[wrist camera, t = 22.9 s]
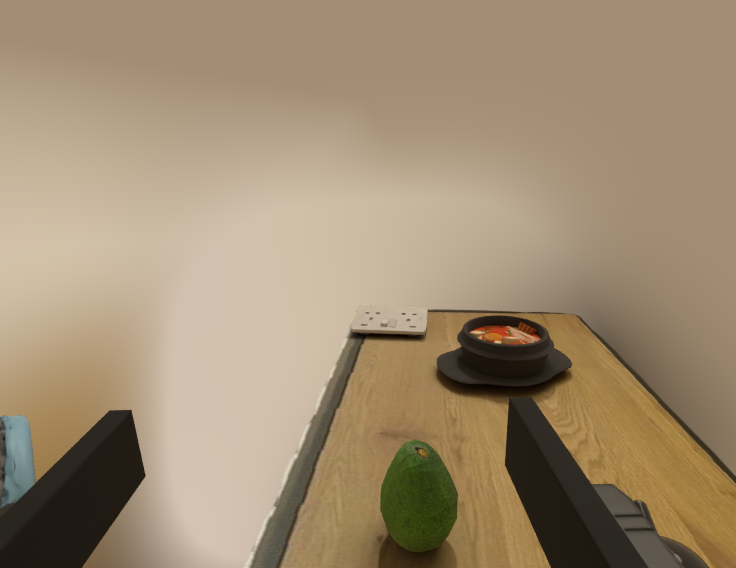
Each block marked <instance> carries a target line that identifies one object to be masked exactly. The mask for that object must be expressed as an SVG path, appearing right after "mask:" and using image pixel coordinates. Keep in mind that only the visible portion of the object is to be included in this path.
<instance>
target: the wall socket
mask: <svg viewBox="0 0 736 568" xmlns="http://www.w3.org/2000/svg"><path fill="white" fill-rule="evenodd" d="M426 323H427V308H424V307H390V306H389V307H388V306H358V307H357V310H356V313H355V316H354V319H353V322H352V325H351V331H352V332H360V335H369V334H370V333H380V334H408V337H417V336H418V335H424V334H425V333H426ZM376 336H377V335H376Z"/></svg>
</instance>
